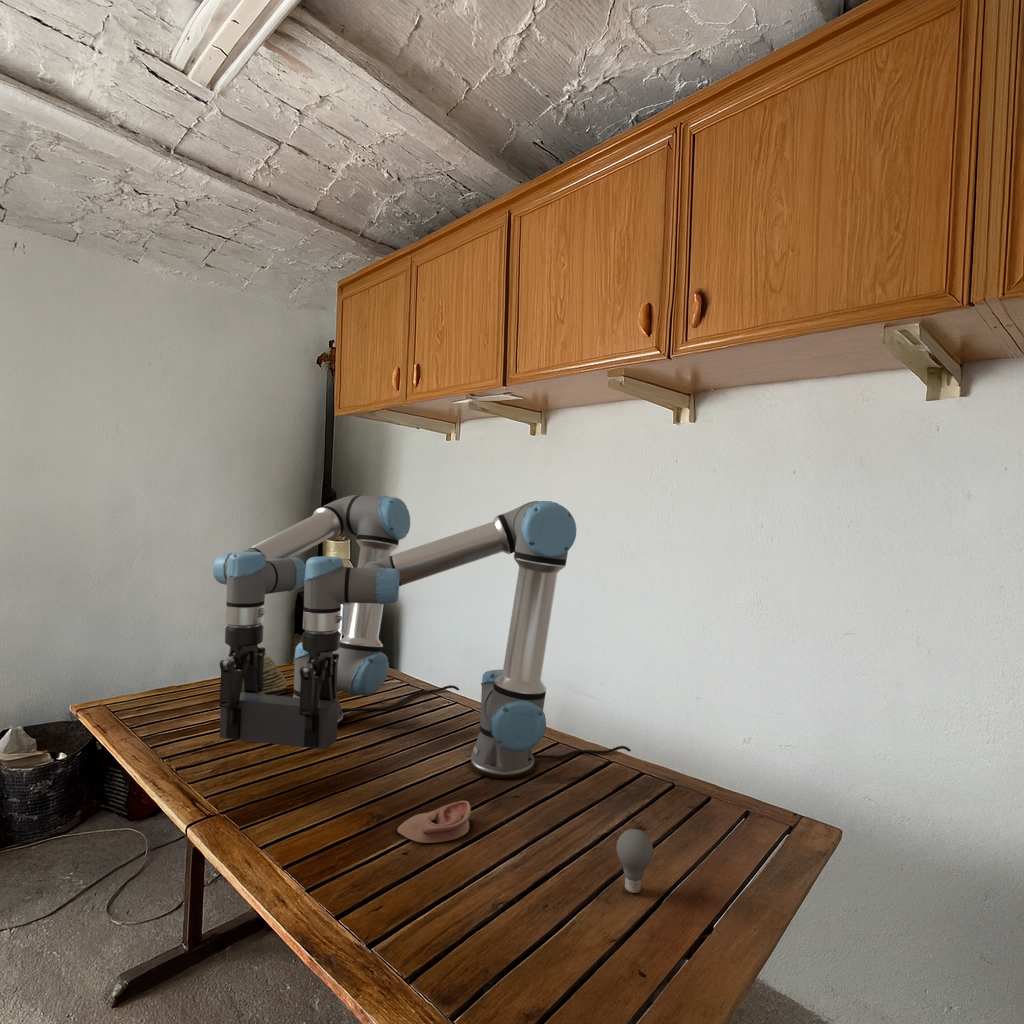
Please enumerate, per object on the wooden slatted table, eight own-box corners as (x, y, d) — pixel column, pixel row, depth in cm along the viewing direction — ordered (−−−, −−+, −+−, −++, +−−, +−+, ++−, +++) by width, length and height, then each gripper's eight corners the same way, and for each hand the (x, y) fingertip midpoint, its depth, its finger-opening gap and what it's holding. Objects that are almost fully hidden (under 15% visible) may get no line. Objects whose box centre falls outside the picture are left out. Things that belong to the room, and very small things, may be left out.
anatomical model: (391, 817, 118) (413, 790, 130) (390, 838, 118) (412, 809, 130) (459, 827, 116) (476, 799, 127) (459, 849, 116) (475, 819, 127)
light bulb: (610, 879, 108) (613, 822, 108) (644, 879, 109) (647, 822, 109) (619, 902, 102) (622, 840, 102) (655, 901, 103) (658, 840, 103)
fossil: (218, 695, 195) (220, 647, 195) (278, 685, 208) (279, 640, 207) (228, 703, 189) (230, 653, 188) (289, 692, 201) (290, 645, 201)
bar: (219, 738, 134) (220, 698, 133) (233, 729, 139) (234, 691, 138) (326, 749, 130) (327, 709, 130) (336, 740, 135) (338, 701, 135)
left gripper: (236, 634, 126) (232, 750, 126) (282, 618, 144) (278, 720, 144) (201, 631, 127) (197, 747, 127) (252, 616, 145) (248, 717, 145)
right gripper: (318, 641, 123) (314, 760, 123) (355, 623, 141) (351, 727, 141) (282, 638, 124) (278, 756, 125) (323, 621, 142) (319, 724, 142)
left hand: (240, 732), depth 136 cm, fingers closed on bar, 5 cm apart
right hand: (317, 740), depth 133 cm, fingers closed on bar, 5 cm apart
